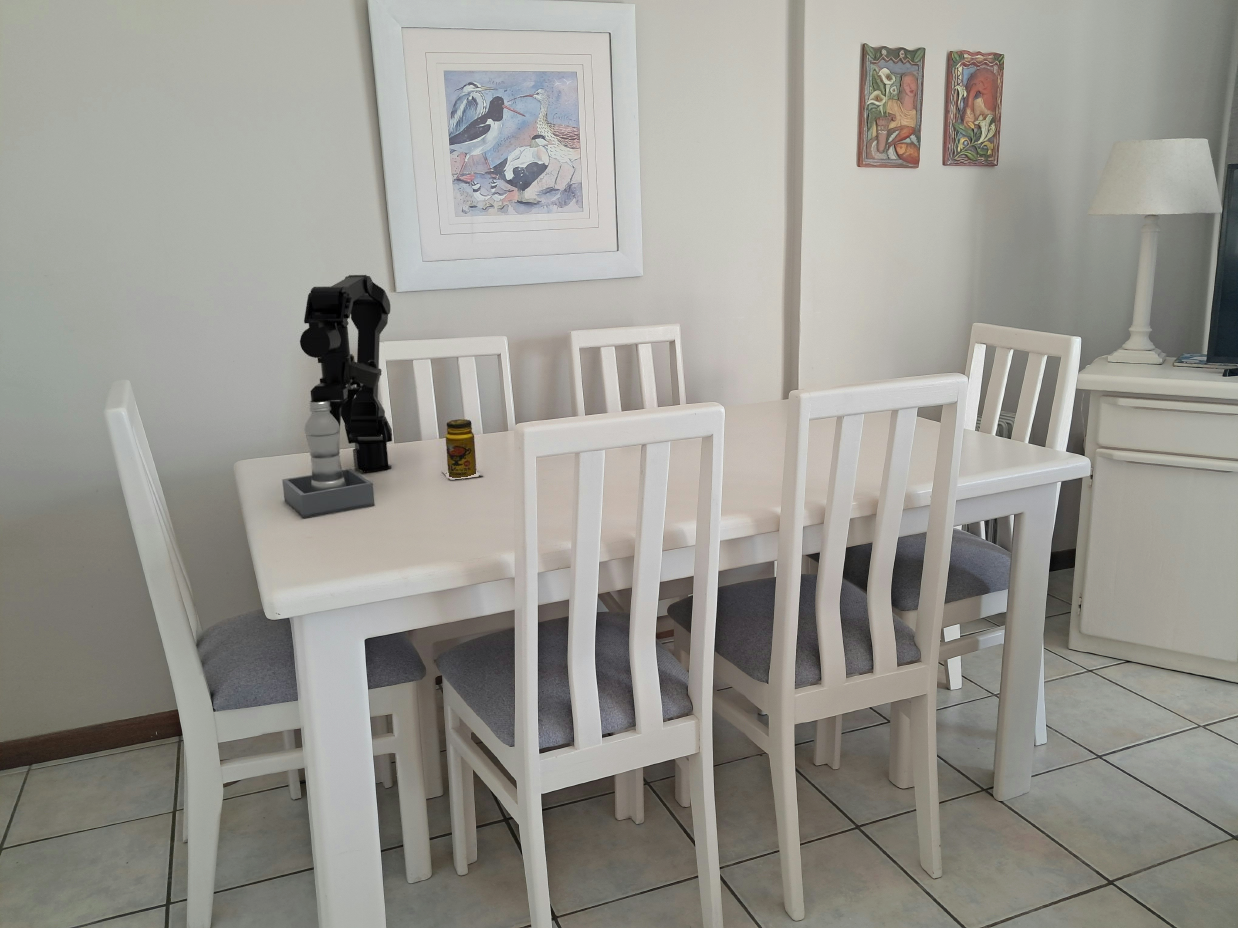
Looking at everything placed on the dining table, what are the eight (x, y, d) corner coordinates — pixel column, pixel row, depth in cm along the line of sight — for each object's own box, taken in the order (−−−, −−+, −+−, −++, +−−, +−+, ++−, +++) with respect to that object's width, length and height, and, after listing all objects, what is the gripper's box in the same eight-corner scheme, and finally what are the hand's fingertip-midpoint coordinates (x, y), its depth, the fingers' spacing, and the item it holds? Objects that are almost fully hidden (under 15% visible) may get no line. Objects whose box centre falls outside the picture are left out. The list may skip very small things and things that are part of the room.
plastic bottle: (330, 508, 176) (320, 405, 171) (304, 504, 179) (293, 402, 174) (354, 499, 182) (345, 399, 177) (329, 495, 185) (319, 396, 180)
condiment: (450, 481, 196) (446, 426, 192) (441, 472, 203) (437, 418, 200) (483, 477, 198) (480, 422, 195) (473, 468, 206) (470, 415, 203)
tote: (352, 489, 191) (350, 468, 190) (374, 505, 180) (372, 483, 178) (284, 501, 183) (282, 479, 182) (303, 518, 172) (301, 495, 171)
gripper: (366, 356, 175) (373, 437, 178) (384, 344, 193) (391, 417, 196) (306, 357, 174) (314, 438, 178) (330, 345, 192) (337, 419, 196)
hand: (342, 428), depth 187 cm, fingers open, 9 cm apart
